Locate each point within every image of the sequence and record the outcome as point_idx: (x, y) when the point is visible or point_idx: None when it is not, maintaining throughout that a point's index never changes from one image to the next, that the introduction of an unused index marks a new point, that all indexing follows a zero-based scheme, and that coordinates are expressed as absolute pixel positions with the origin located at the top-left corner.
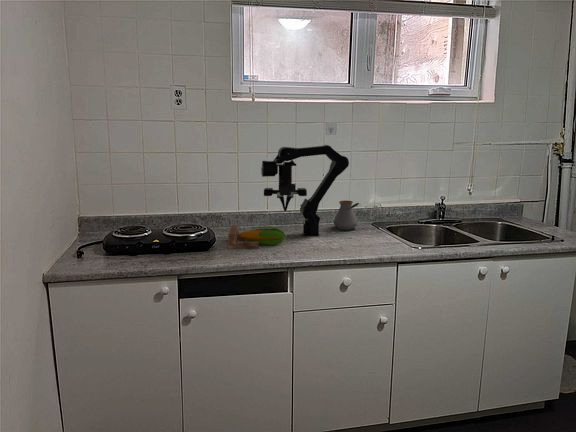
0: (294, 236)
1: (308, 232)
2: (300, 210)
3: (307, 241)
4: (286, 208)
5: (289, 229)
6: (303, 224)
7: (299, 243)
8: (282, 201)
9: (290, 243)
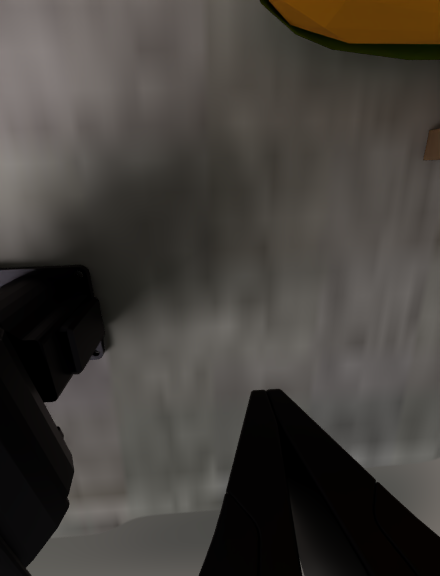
0: (163, 250)
1: (52, 286)
2: (49, 478)
3: (39, 88)
4: (253, 419)
5: (205, 414)
6: (75, 342)
7: (99, 5)
8: (430, 572)
9: (182, 4)
